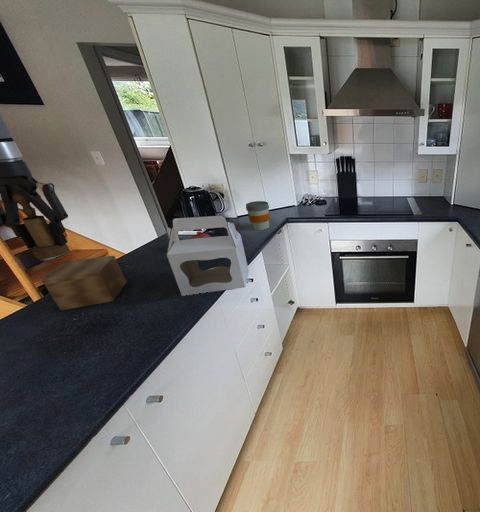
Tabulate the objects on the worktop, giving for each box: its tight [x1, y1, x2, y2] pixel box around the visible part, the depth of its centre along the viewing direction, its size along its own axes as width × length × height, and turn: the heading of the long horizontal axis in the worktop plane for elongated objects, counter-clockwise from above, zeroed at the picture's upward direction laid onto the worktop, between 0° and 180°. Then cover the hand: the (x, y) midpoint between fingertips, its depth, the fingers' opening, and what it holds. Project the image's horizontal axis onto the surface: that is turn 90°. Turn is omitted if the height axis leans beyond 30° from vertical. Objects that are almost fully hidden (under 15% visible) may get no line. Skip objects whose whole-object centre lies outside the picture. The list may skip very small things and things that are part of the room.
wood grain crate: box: [41, 255, 127, 311], centre depth 98 cm, size 14×14×12 cm
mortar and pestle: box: [12, 194, 70, 260], centre depth 75 cm, size 7×6×18 cm
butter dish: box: [190, 230, 211, 239], centre depth 138 cm, size 12×12×8 cm
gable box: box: [166, 214, 250, 297], centre depth 104 cm, size 22×13×28 cm, turn 108°
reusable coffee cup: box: [245, 200, 271, 231], centre depth 164 cm, size 13×13×15 cm
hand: (48, 245), depth 78 cm, fingers closed on mortar and pestle, 5 cm apart
